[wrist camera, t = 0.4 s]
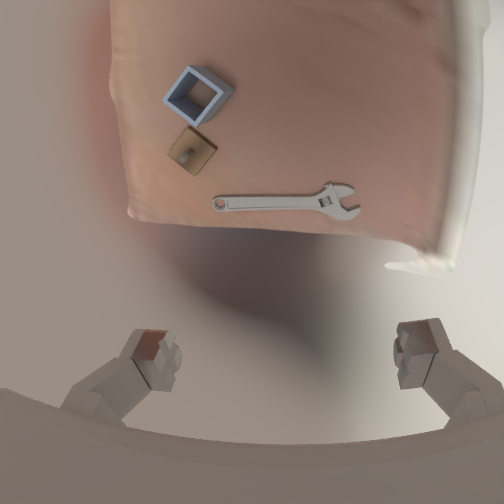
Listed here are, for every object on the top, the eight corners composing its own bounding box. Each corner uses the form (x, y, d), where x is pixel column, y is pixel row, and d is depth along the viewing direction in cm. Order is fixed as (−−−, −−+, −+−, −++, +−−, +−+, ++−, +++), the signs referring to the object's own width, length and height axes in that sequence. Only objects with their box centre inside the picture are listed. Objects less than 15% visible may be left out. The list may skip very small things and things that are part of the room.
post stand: (170, 152, 52) (156, 162, 47) (190, 126, 49) (177, 132, 44) (196, 174, 53) (185, 185, 48) (217, 148, 50) (208, 156, 45)
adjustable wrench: (214, 208, 57) (212, 212, 55) (212, 174, 53) (210, 177, 52) (356, 217, 54) (357, 222, 52) (360, 183, 50) (362, 186, 49)
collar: (180, 97, 46) (161, 101, 40) (204, 66, 44) (188, 65, 37) (210, 119, 48) (195, 127, 41) (235, 89, 45) (224, 92, 38)
